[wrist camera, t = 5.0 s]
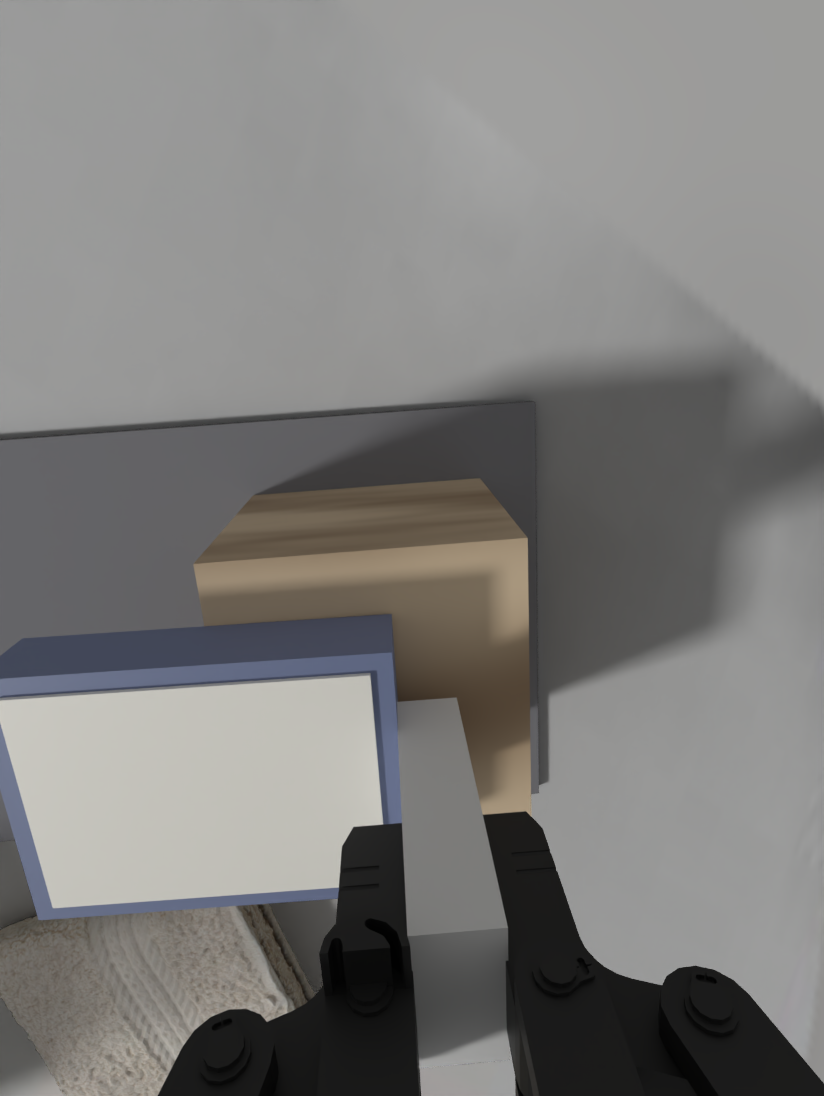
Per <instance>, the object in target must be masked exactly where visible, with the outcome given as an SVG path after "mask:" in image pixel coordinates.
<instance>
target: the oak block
mask: <svg viewBox="0 0 824 1096" xmlns="http://www.w3.org/2000/svg"><path fill="white" fill-rule="evenodd" d="M193 565H194V571H195V576H196V582H197V588H198V593H199V599H200V605H201V610H202V616H203V622H204V626H217V625H232V624H247V623H262V622H277V621H292V620H307V619H322V618H338V617H353V616H368V615H383V614H392V625H393V639H394V653H395V667H396V681H397V695H398V702H402V701H416V700H429V699H442V698H455V697H457V702H458V706H459V711H460V715H461V720H462V724H463V728H464V733H465V737H466V742H467V746H468V751H469V755H470V760H471V764H472V769H473V773H474V778H475V782H476V787H477V791H478V796H479V800H480V805H481V809H482V814H483V815H485V814H498V813H510V812H523V811H526V812H527V813H528V814H529V815H530V816H531V751H530V675H529V599H528V538H527V536H526V535H525V534H524V533H523V531H522V530H521V529H520V528H519V526H518V525H517V524H516V523H515V521H514V520H513V519H512V518H511V516H510V515H509V514H508V513H507V511H506V510H505V509H504V508H503V506H502V505H501V504H500V503H499V501H498V500H497V499H496V498H495V496H494V495H493V494H492V493H491V491H490V490H489V489H488V488H487V486H486V485H485V484H484V483H483V481H482V480H481V479H480V478H475V479H462V480H449V481H436V482H422V483H409V484H396V485H382V486H369V487H356V488H343V489H329V490H316V491H303V492H290V493H276V494H263V495H253V496H252V497H251V498H250V500H249V501H248V502H247V503H246V504H245V505H244V506H243V508H242V509H241V510H240V511H239V512H238V513H237V514H236V516H235V517H234V518H233V519H232V520H231V521H230V522H229V524H228V525H227V526H226V527H225V528H224V529H223V530H222V532H221V533H220V534H219V535H218V536H217V537H216V539H215V540H214V541H213V542H212V543H211V544H210V545H209V547H208V548H207V549H206V550H205V551H204V552H203V553H202V555H201V556H200V557H199V558H198V559H197V560H196V561H195V563H194V564H193Z"/></svg>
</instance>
